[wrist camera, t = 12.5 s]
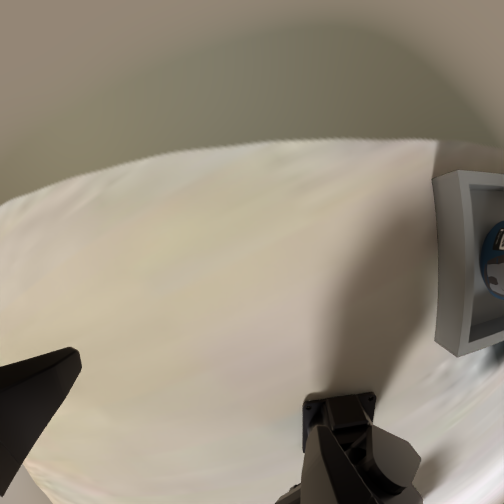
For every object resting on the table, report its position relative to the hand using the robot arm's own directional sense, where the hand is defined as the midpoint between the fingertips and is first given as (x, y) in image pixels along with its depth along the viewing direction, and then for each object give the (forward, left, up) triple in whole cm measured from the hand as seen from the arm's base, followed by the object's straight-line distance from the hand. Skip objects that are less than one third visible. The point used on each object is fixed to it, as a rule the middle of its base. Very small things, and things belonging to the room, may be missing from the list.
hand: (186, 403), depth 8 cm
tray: (+2, -24, -13) cm, 27 cm away
